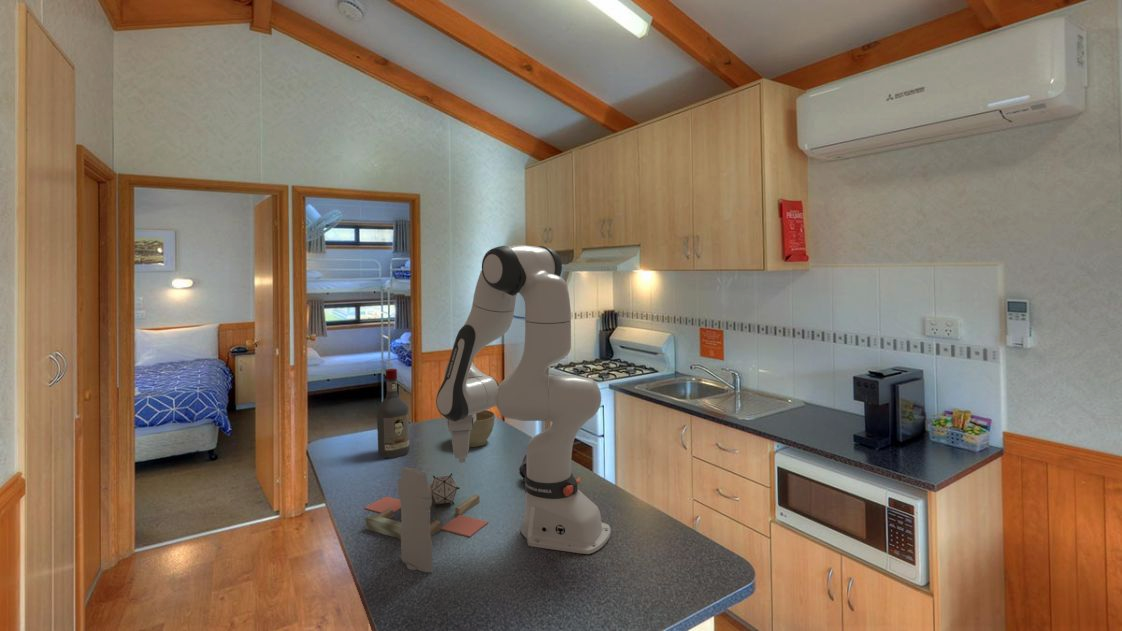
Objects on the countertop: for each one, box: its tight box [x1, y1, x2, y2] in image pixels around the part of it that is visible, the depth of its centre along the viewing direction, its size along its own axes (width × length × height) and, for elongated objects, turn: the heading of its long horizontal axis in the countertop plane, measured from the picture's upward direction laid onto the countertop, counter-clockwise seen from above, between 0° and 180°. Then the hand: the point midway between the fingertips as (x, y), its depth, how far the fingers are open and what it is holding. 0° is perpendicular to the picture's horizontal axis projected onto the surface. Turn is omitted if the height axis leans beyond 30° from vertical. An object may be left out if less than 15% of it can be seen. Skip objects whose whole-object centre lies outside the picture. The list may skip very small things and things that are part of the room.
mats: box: [363, 495, 489, 538], centre depth 140 cm, size 35×8×1 cm, turn 64°
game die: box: [431, 472, 460, 508], centre depth 147 cm, size 9×8×10 cm
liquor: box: [376, 368, 410, 459], centre depth 185 cm, size 9×9×30 cm
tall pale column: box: [397, 466, 434, 574], centre depth 116 cm, size 11×4×22 cm, turn 55°
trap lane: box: [365, 484, 481, 540], centre depth 140 cm, size 17×25×3 cm
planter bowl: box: [469, 409, 496, 448], centre depth 197 cm, size 16×16×11 cm
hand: (462, 460), depth 155 cm, fingers closed
